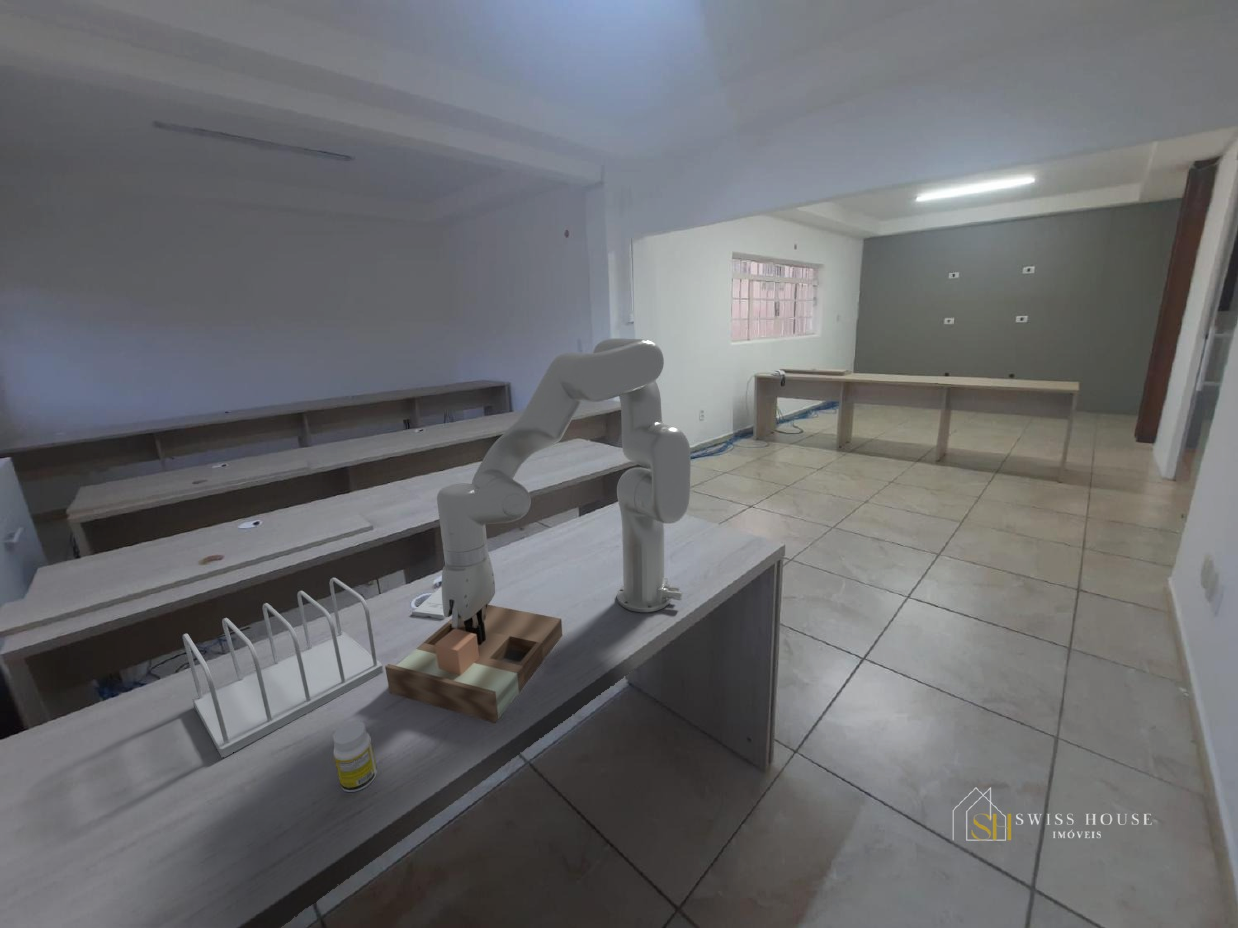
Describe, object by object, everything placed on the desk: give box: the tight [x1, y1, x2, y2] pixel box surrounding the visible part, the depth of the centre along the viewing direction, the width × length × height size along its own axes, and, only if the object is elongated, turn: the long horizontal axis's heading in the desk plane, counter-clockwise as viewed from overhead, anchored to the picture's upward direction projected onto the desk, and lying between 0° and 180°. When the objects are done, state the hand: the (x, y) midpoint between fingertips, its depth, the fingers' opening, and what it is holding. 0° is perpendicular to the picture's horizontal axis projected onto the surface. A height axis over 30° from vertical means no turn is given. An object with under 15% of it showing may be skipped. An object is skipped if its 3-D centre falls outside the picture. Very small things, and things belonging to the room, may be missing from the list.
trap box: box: [384, 604, 563, 724], centre depth 95 cm, size 22×25×6 cm
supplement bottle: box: [332, 720, 378, 793], centre depth 70 cm, size 5×5×8 cm
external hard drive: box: [411, 585, 447, 620], centre depth 117 cm, size 2×8×12 cm
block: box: [435, 629, 479, 675], centre depth 89 cm, size 5×5×5 cm
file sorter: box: [182, 577, 385, 758], centre depth 88 cm, size 25×17×16 cm
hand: (476, 641), depth 94 cm, fingers closed
